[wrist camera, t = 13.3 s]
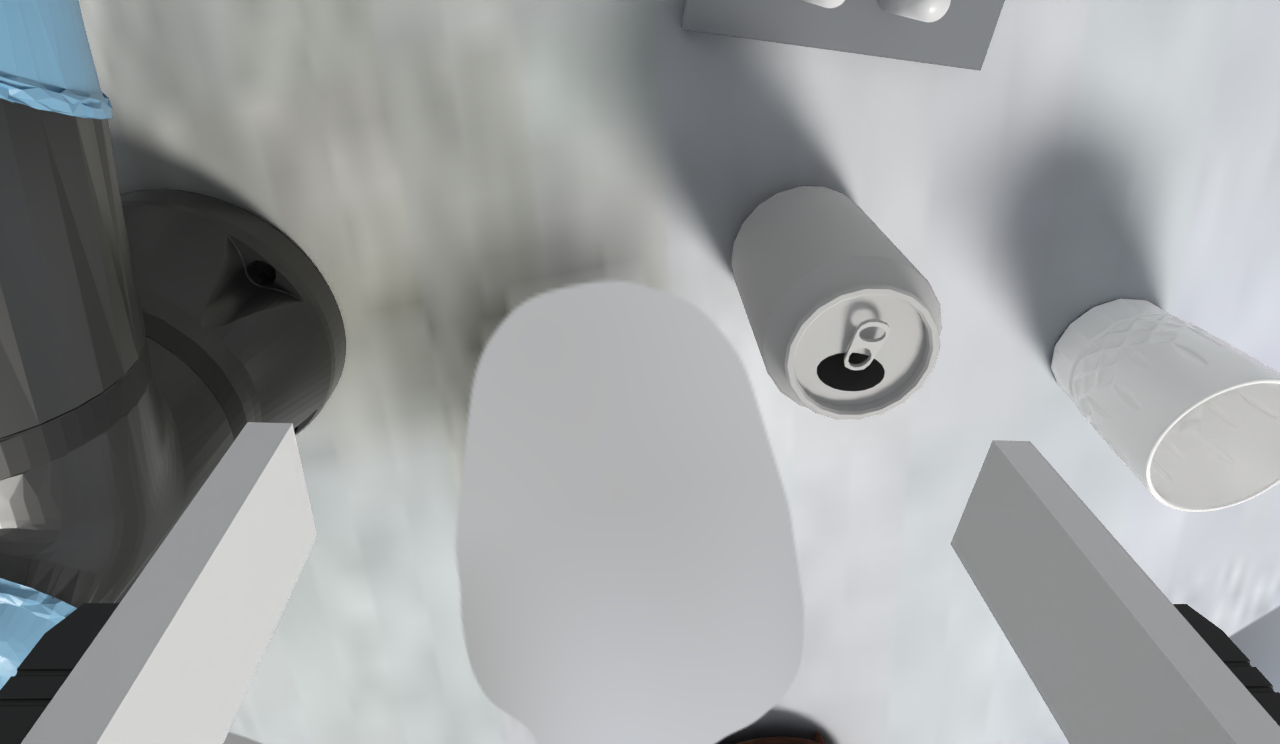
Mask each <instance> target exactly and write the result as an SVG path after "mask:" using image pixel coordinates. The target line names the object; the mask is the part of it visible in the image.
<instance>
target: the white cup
mask: <svg viewBox="0 0 1280 744" xmlns="http://www.w3.org/2000/svg"><path fill="white" fill-rule="evenodd" d="M1051 369H1052V372H1053V374H1054V376H1055V379H1056V381H1057V383H1058V386H1059V387H1060V388H1061V389H1062V390H1063V391H1064V393H1065V394H1066V395H1067V396H1068V397H1069V398H1070V399H1071V400H1072V401H1073V402H1074V403H1075V405H1076V406H1077V408H1078V409H1079V411H1080V412H1081V414H1082V415H1083V416H1084V417H1085V419H1086V420H1087V421H1088V422H1089V423H1090V424H1091V425H1092V426H1093V427H1094V429H1095V430H1096V431H1097V433H1098V434H1099V435H1100V436H1101V438H1102V439H1103V440H1104V441H1105V442H1106V443H1107V444H1108V446H1109V447H1110V448H1111V449H1112V450H1113V451H1114V452H1115V453H1116V455H1117V456H1118V457H1119V458H1120V459H1121V460H1122V461H1123V462H1124V463H1125V465H1126V466H1127V467H1128V468H1129V469H1130V470H1131V471H1132V472H1133V474H1134V475H1135V476H1136V477H1137V478H1138V479H1139V480H1140V481H1141V483H1142V484H1143V485H1144V486H1145V487H1146V488H1147V489H1148V491H1149V492H1150V493H1151V494H1152V495H1153V496H1154V497H1155V498H1156V499H1157V500H1158V501H1159V502H1161V503H1162V504H1164V505H1166V506H1168V507H1171V508H1174V509H1177V510H1182V511H1190V512H1203V511H1213V510H1218V509H1223V508H1227V507H1230V506H1234V505H1237V504H1240V503H1242V502H1245V501H1247V500H1249V499H1252V498H1254V497H1256V496H1258V495H1260V494H1262V493H1263V492H1265V491H1267V490H1268V489H1270V488H1272V487H1273V486H1275V485H1276V484H1278V483H1279V482H1280V373H1279V372H1278V371H1276V370H1274V369H1272V368H1271V367H1269V366H1267V365H1265V364H1264V363H1262V362H1260V361H1259V360H1257V359H1255V358H1253V357H1252V356H1250V355H1248V354H1246V353H1245V352H1243V351H1241V350H1240V349H1238V348H1236V347H1235V346H1233V345H1231V344H1229V343H1227V342H1225V341H1223V340H1221V339H1219V338H1217V337H1215V336H1213V335H1212V334H1210V333H1208V332H1207V331H1205V330H1203V329H1201V328H1199V327H1197V326H1195V325H1193V324H1191V323H1189V322H1185V321H1183V320H1180V319H1178V318H1177V317H1175V316H1173V315H1171V314H1169V313H1167V312H1166V311H1164V310H1162V309H1161V308H1159V307H1157V306H1156V305H1154V304H1152V303H1150V302H1149V301H1147V300H1137V299H1122V298H1121V299H1117V300H1114V301H1111V302H1108V303H1105V304H1101V305H1098V306H1095V307H1093V308H1091V309H1090V310H1089V311H1087V312H1086V313H1085V314H1083V315H1082V316H1080V317H1079V318H1078V319H1076V320H1075V321H1074V322H1072V323H1071V324H1070V325H1069V326H1068V328H1067V329H1066V330H1065V332H1064V333H1063V335H1062V336H1061V338H1060V339H1059V341H1058V342H1057V343H1056V345H1055V348H1054V353H1053V359H1052V364H1051Z"/></svg>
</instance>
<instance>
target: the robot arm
mask: <svg viewBox="0 0 1280 744" xmlns="http://www.w3.org/2000/svg"><path fill="white" fill-rule="evenodd" d="M111 117H113V115H112V106H111V103H110V100H109V98H108V97H107V96H106V95H105V94H104V93H103V92H102V91H101V88H100V85H99V81H98V77H97V73H96V69H95V66H94V62H93V58H92V54H91V50H90V46H89V43H88V39H87V35H86V31H85V27H84V23H83V19H82V14H81V10H80V6H79V1H78V0H0V744H223V743H224V741H225V739H226V736H227V734H228V732H229V730H230V728H231V725H232V723H233V721H234V719H235V717H236V714H237V712H238V710H239V708H240V706H241V703H242V701H243V699H244V697H245V695H246V692H247V690H248V688H249V686H250V684H251V681H252V679H253V677H254V675H255V673H256V670H257V668H258V666H259V664H260V662H261V659H262V657H263V655H264V653H265V651H266V648H267V646H268V644H269V642H270V640H271V637H272V635H273V633H274V631H275V629H276V626H277V624H278V622H279V620H280V618H281V615H282V613H283V611H284V609H285V607H286V604H287V602H288V600H289V598H290V596H291V593H292V591H293V589H294V587H295V585H296V582H297V580H298V578H299V576H300V574H301V571H302V569H303V567H304V565H305V563H306V560H307V558H308V556H309V554H310V552H311V549H312V547H313V545H314V543H315V541H316V538H317V534H316V530H315V525H314V520H313V516H312V511H311V507H310V502H309V497H308V493H307V488H306V483H305V479H304V474H303V470H302V465H301V460H300V456H299V451H298V446H297V442H296V437H295V435H297V434H298V433H299V432H301V431H302V430H303V429H304V428H305V427H307V426H308V425H309V424H310V423H311V422H312V421H313V420H314V418H315V417H316V416H317V415H318V414H319V412H320V411H321V410H322V408H323V407H324V405H325V403H326V402H327V400H328V399H329V397H330V396H331V394H332V392H333V391H334V389H335V387H336V385H337V384H338V381H339V379H340V377H341V374H342V371H343V367H344V362H345V355H346V338H345V330H344V325H343V320H342V317H341V314H340V310H339V308H338V305H337V303H336V300H335V298H334V296H333V294H332V292H331V290H330V288H329V287H328V285H327V283H326V281H325V280H324V278H323V277H322V275H321V274H320V273H319V271H318V270H317V269H316V267H315V266H314V265H313V264H312V262H311V261H310V260H309V259H308V258H307V257H306V255H305V254H304V253H303V252H302V251H301V250H300V249H299V248H298V247H297V246H295V245H294V244H293V243H292V242H291V241H290V240H289V239H288V238H286V237H285V236H284V235H283V234H281V233H280V232H279V231H277V230H276V229H275V228H273V227H272V226H270V225H269V224H267V223H266V222H264V221H263V220H261V219H260V218H258V217H256V216H254V215H252V214H251V213H249V212H247V211H245V210H243V209H241V208H238V207H236V206H234V205H231V204H229V203H226V202H224V201H221V200H218V199H215V198H212V197H208V196H204V195H200V194H196V193H191V192H184V191H177V190H144V191H137V192H131V193H127V194H123V195H120V190H119V185H118V179H117V173H116V167H115V161H114V155H113V149H112V143H111V137H110V131H109V125H108V119H107V118H111ZM951 545H952V547H953V549H954V550H955V552H956V554H957V555H958V557H959V559H960V560H961V562H962V564H963V565H964V567H965V569H966V570H967V572H968V574H969V575H970V577H971V579H972V580H973V582H974V584H975V586H976V587H977V589H978V591H979V592H980V594H981V596H982V597H983V599H984V601H985V602H986V604H987V606H988V607H989V609H990V611H991V612H992V614H993V616H994V617H995V619H996V621H997V622H998V624H999V626H1000V627H1001V629H1002V631H1003V632H1004V634H1005V636H1006V638H1007V639H1008V641H1009V643H1010V644H1011V646H1012V648H1013V649H1014V651H1015V653H1016V654H1017V656H1018V658H1019V659H1020V661H1021V663H1022V664H1023V666H1024V668H1025V669H1026V671H1027V673H1028V674H1029V676H1030V678H1031V679H1032V681H1033V683H1034V684H1035V686H1036V688H1037V690H1038V691H1039V693H1040V695H1041V696H1042V698H1043V700H1044V701H1045V703H1046V705H1047V706H1048V708H1049V710H1050V711H1051V713H1052V715H1053V716H1054V718H1055V720H1056V721H1057V723H1058V725H1059V726H1060V728H1061V730H1062V731H1063V733H1064V735H1065V736H1066V738H1067V740H1068V742H1069V743H1070V744H1280V693H1279V692H1277V693H1275V692H1274V691H1273V689H1272V687H1273V686H1272V684H1271V683H1270V682H1269V681H1268V680H1267V679H1266V678H1265V677H1264V676H1263V675H1262V673H1261V672H1259V670H1258V669H1257V668H1256V667H1251V665H1250V660H1249V659H1248V658H1247V657H1246V656H1245V655H1244V654H1243V653H1242V652H1241V650H1240V649H1239V648H1238V647H1237V646H1236V645H1235V644H1234V643H1233V642H1232V641H1231V640H1230V638H1229V637H1228V636H1227V635H1226V634H1225V633H1224V632H1223V631H1222V630H1221V629H1219V628H1218V627H1217V626H1215V625H1214V624H1213V623H1211V622H1210V621H1209V620H1207V619H1206V618H1205V617H1203V616H1202V615H1200V614H1199V613H1198V612H1196V611H1195V610H1194V609H1192V608H1191V607H1190V606H1188V605H1187V604H1172V603H1171V602H1170V601H1169V600H1168V598H1167V597H1166V596H1165V595H1164V594H1163V593H1162V592H1161V590H1160V589H1159V588H1158V587H1157V586H1156V585H1155V584H1154V582H1153V581H1152V580H1151V579H1150V578H1149V577H1148V576H1147V574H1146V573H1145V572H1144V571H1143V570H1142V569H1141V568H1140V566H1139V565H1138V564H1137V563H1136V562H1135V561H1134V560H1133V558H1132V557H1131V556H1130V555H1129V554H1128V553H1127V552H1126V550H1125V549H1124V548H1123V547H1122V546H1121V545H1120V544H1119V542H1118V541H1117V540H1116V539H1115V538H1114V537H1113V536H1112V534H1111V533H1110V532H1109V531H1108V530H1107V529H1106V528H1105V526H1104V525H1103V524H1102V523H1101V522H1100V521H1099V520H1098V518H1097V517H1096V516H1095V515H1094V514H1093V513H1092V512H1091V510H1090V509H1089V508H1088V507H1087V506H1086V505H1085V504H1084V502H1083V501H1082V500H1081V499H1080V498H1079V497H1078V496H1077V494H1076V493H1075V492H1074V491H1073V490H1072V489H1071V488H1070V486H1069V485H1068V484H1067V483H1066V482H1065V481H1064V480H1063V478H1062V477H1061V476H1060V475H1059V474H1058V473H1057V472H1056V470H1055V469H1054V468H1053V467H1052V466H1051V465H1050V464H1049V462H1048V461H1047V460H1046V459H1045V458H1044V457H1043V456H1042V454H1041V453H1040V452H1039V451H1038V450H1037V449H1036V448H1035V446H1034V445H1033V444H1032V443H1031V442H1030V441H995V440H993V441H992V444H991V446H990V449H989V451H988V453H987V456H986V458H985V461H984V463H983V466H982V468H981V471H980V473H979V476H978V478H977V480H976V483H975V485H974V488H973V490H972V493H971V495H970V498H969V500H968V502H967V505H966V507H965V510H964V512H963V515H962V517H961V520H960V522H959V525H958V527H957V529H956V532H955V534H954V537H953V539H952V542H951Z"/></svg>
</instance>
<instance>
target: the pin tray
mask: <svg viewBox="0 0 1280 744" xmlns="http://www.w3.org/2000/svg"><path fill="white" fill-rule="evenodd" d="M1004 1H1005V0H685V3H684V10H683V17H682V24H681V27H682V29H683V30H690V31H697V32H704V33H711V34H719V35H726V36H733V37H740V38H748V39H755V40H762V41H770V42H777V43H784V44H791V45H799V46H806V47H813V48H820V49H828V50H835V51H842V52H850V53H857V54H864V55H871V56H879V57H886V58H893V59H900V60H908V61H915V62H922V63H930V64H937V65H944V66H951V67H959V68H966V69H973V70H981V67H982V64H983V62H984V59H985V56H986V53H987V50H988V47H989V44H990V41H991V38H992V35H993V33H994V30H995V27H996V24H997V21H998V18H999V15H1000V12H1001V9H1002V7H1003V4H1004Z"/></svg>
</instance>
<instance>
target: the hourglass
mask: <svg viewBox="0 0 1280 744" xmlns="http://www.w3.org/2000/svg"><path fill="white" fill-rule="evenodd" d="M736 744H826V743H825V741H824V739H823V737H822V736H821V734H820V733H818V732H815V733H814V734H813V739H812V740H808V739H803V738H796V737H765V738H758V739H752V740H747V741H743V742H740V743H736Z"/></svg>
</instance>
